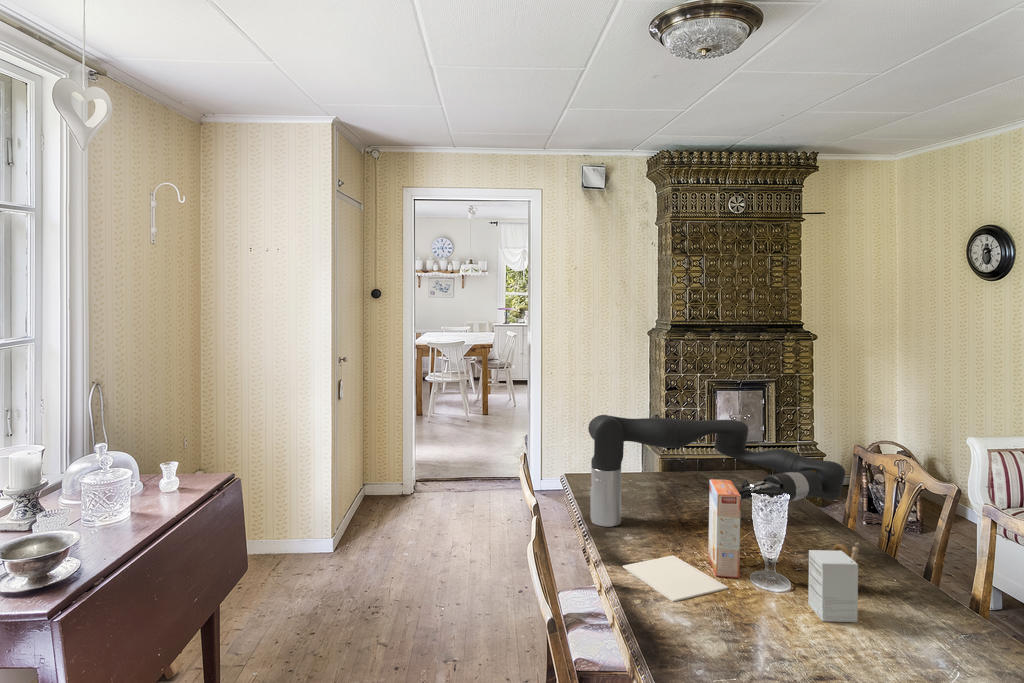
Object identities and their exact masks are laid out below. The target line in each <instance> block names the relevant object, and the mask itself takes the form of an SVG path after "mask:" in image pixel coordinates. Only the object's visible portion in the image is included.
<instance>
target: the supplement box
mask: <svg viewBox="0 0 1024 683" xmlns="http://www.w3.org/2000/svg"><path fill="white" fill-rule="evenodd" d="M858 592H859V564H858V563H857V562H856V561H854V560H852V559H851V558H850V557H849V556H848V555H846V554H845V553H844V552H843V551H833V550H826V549H825V550H818V549H809V550H808V595H807V596H808V598H807V599H808V601H807V603H808V606H809V607H810V608H811V609H812V611H813V612H814V613H815V615H816V616H817V617H818V618H819V619H820V620H821V622H839V623H858V618H859V616H858V607H859V606H858V605H859V604H858V602H859V601H858V599H859V598H858V596H859V593H858Z"/></svg>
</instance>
